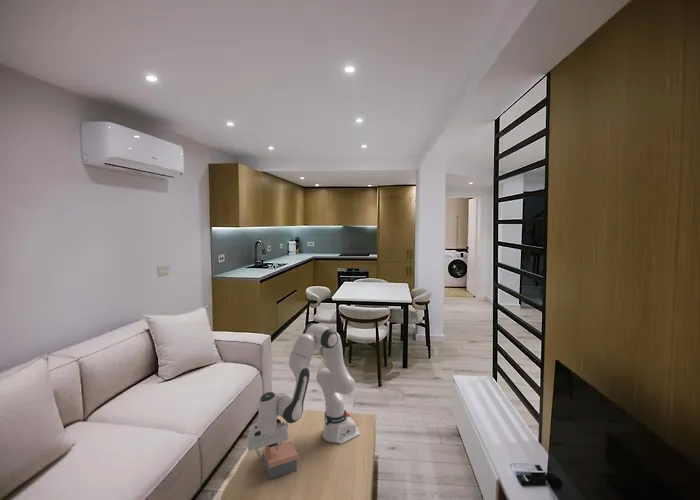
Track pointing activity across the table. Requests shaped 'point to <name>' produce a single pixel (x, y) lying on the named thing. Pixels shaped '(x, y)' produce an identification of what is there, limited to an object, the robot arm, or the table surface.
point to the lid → (280, 454)
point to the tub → (280, 468)
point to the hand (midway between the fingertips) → (267, 452)
